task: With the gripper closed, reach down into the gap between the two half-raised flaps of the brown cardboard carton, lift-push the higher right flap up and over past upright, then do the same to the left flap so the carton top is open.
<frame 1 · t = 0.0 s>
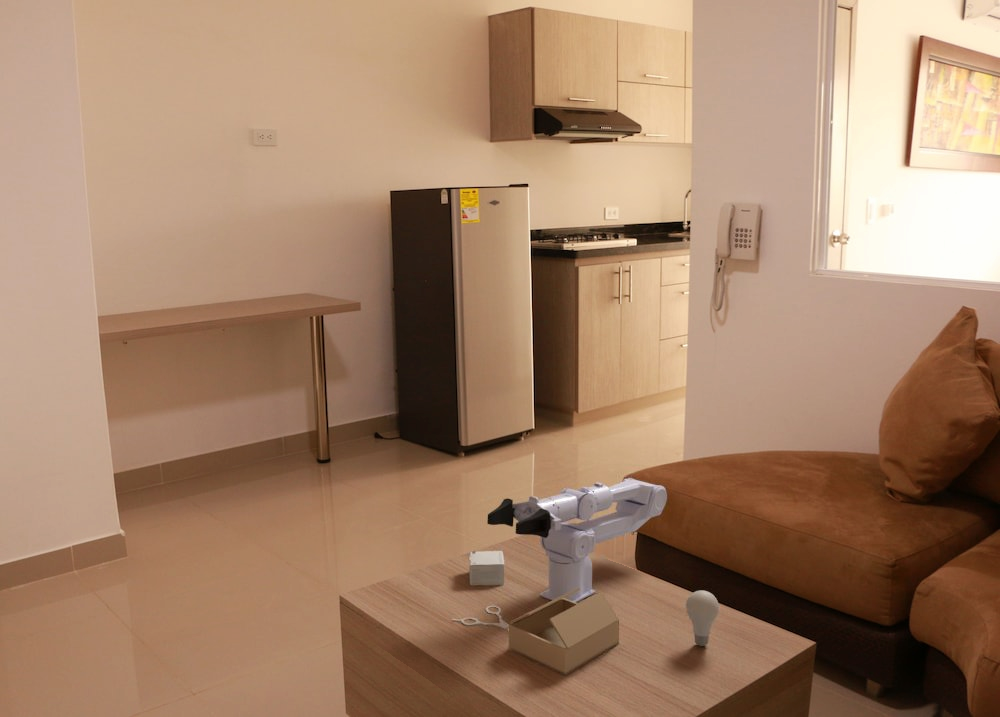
hand: (502, 524, 176), 22 cm above the table, tool horizontal, fingers open, 7 cm apart
small box: (486, 579, 203), on the table
lightbulb: (701, 646, 171), on the table
flap 1: (545, 605, 174), point 7 cm above the table, hinge at 35.0°
scissors: (504, 629, 180), on the table
carton: (564, 646, 172), on the table
flap 2: (584, 619, 167), point 7 cm above the table, hinge at 45.0°
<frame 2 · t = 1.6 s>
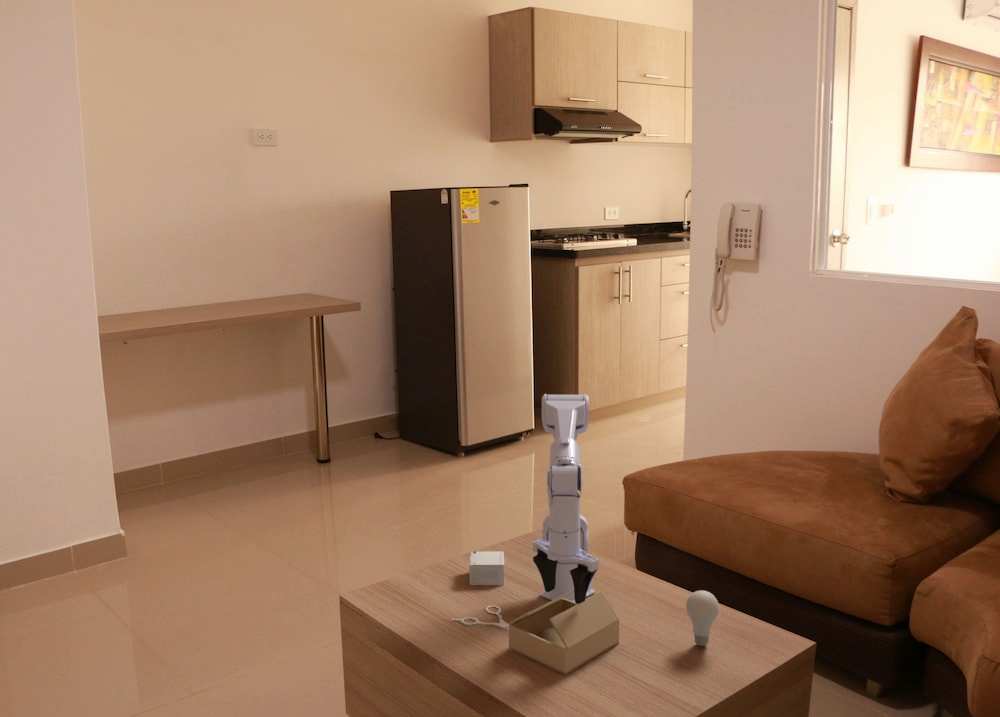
hand: (564, 596, 170), 10 cm above the table, tool pointing down, fingers open, 7 cm apart
nothing on the table moved.
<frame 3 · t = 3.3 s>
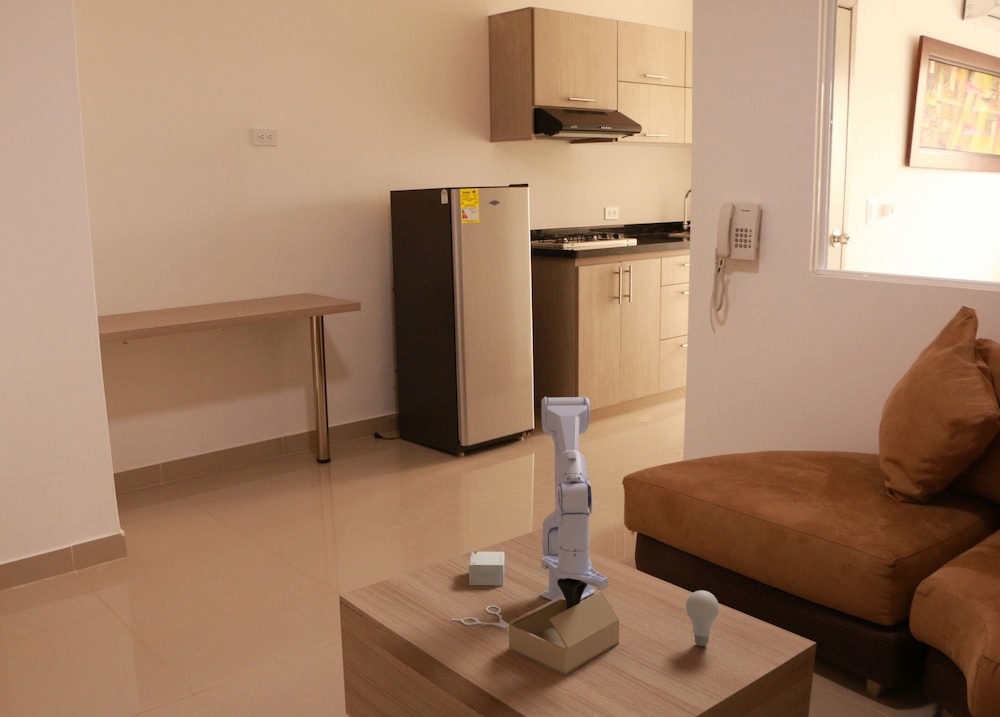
hand: (573, 613, 169), 8 cm above the table, tool pointing down, fingers closed, pressing on flap 2
flap 2: (585, 619, 167), point 7 cm above the table, hinge at 46.7°, touching gripper
everything else where it was.
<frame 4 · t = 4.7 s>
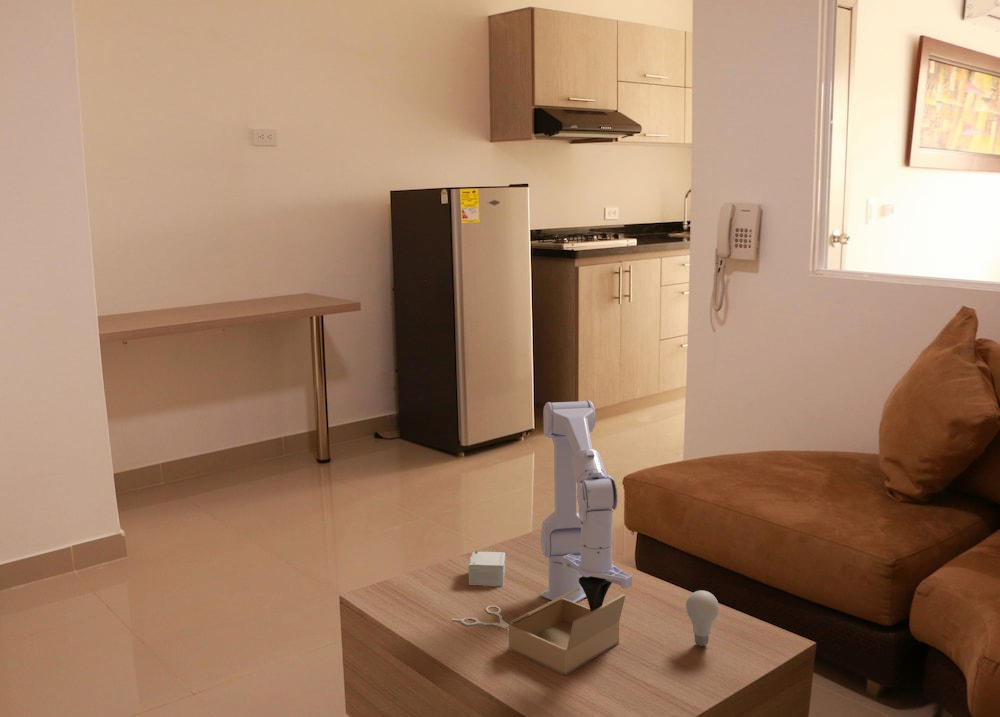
hand: (596, 613, 165), 9 cm above the table, tool pointing down, fingers closed, pressing on flap 2
flap 2: (597, 621, 165), point 8 cm above the table, hinge at 103.7°, touching gripper
everything else where it was.
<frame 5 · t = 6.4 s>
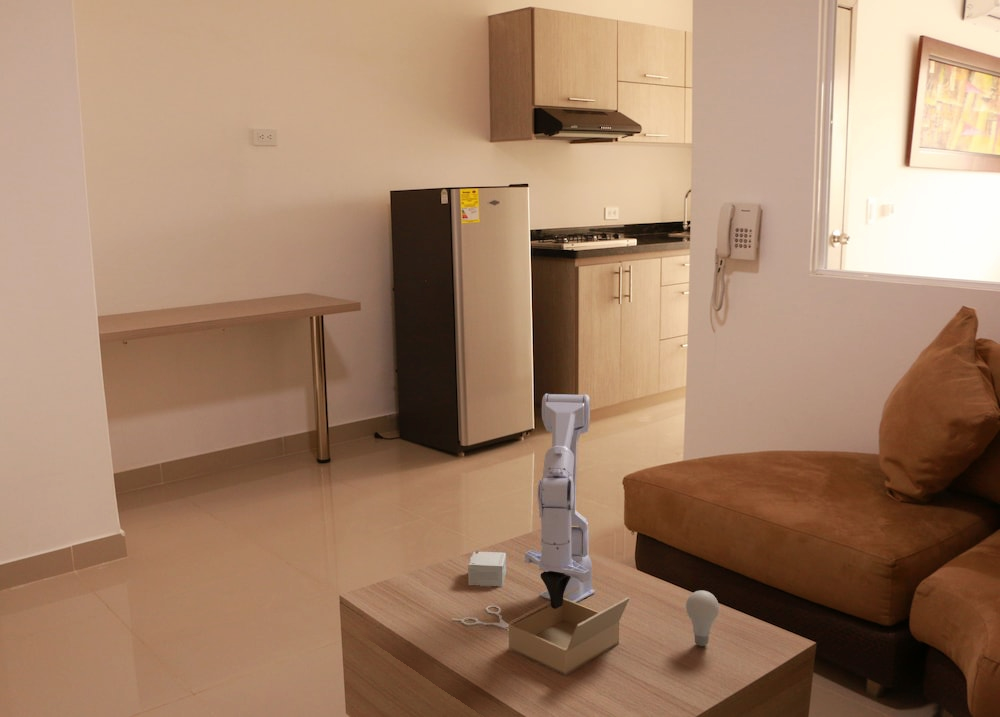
hand: (556, 606, 172), 8 cm above the table, tool pointing down, fingers closed, pressing on flap 1
flap 1: (545, 604, 174), point 7 cm above the table, hinge at 37.1°, touching gripper
flap 2: (598, 623, 165), point 8 cm above the table, hinge at 113.0°
everything else where it was.
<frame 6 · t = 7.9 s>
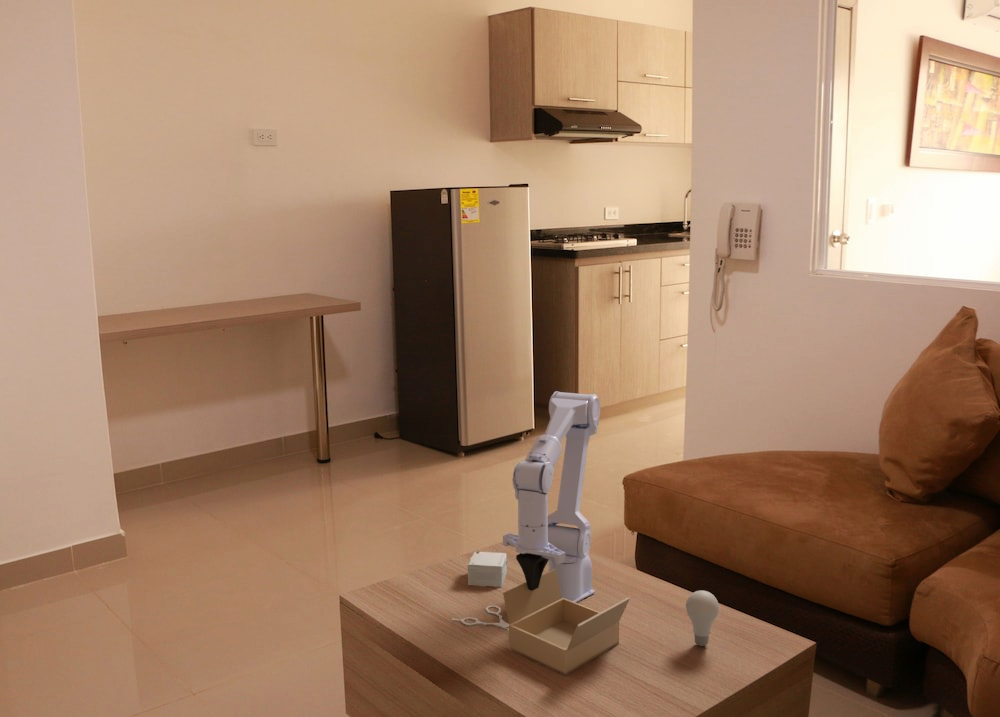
hand: (533, 588, 175), 10 cm above the table, tool pointing down, fingers closed, pressing on flap 1
flap 1: (533, 595, 176), point 8 cm above the table, hinge at 103.9°, touching gripper
flap 2: (599, 623, 165), point 8 cm above the table, hinge at 113.6°
everything else where it was.
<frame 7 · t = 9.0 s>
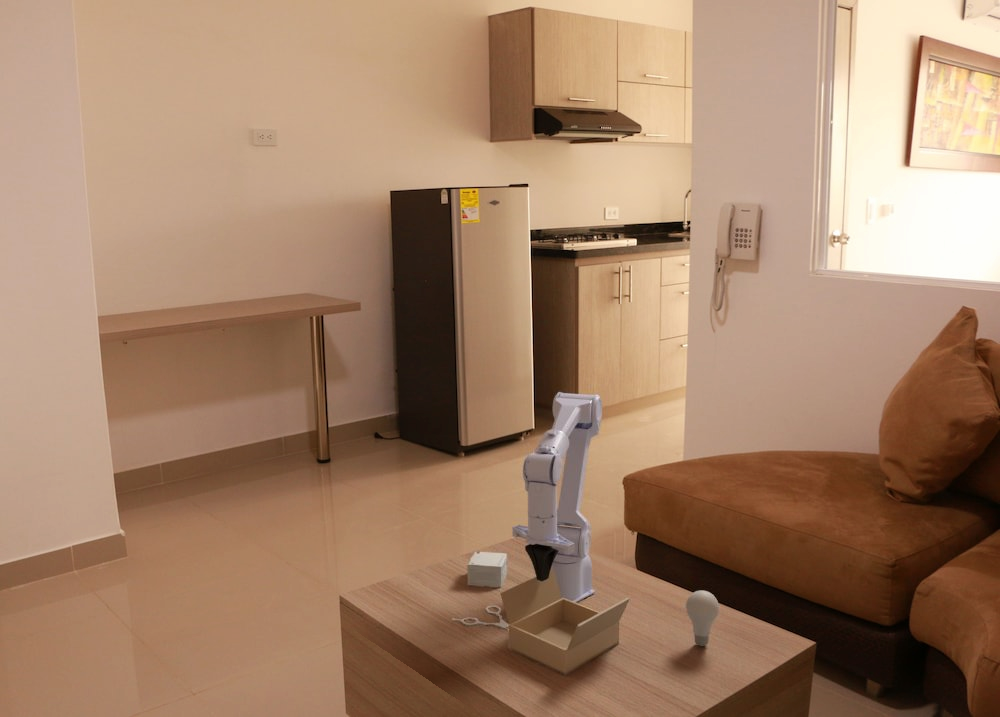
hand: (542, 579, 177), 10 cm above the table, tool pointing down, fingers closed
flap 1: (531, 595, 176), point 8 cm above the table, hinge at 111.3°
everything else where it was.
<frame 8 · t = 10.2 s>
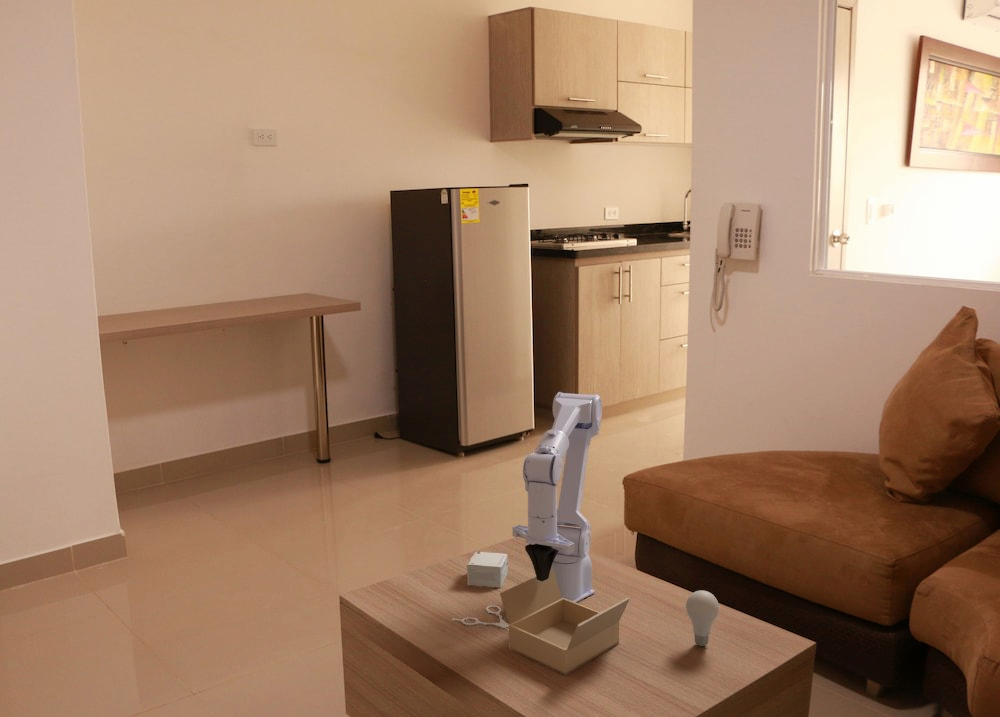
hand: (542, 579, 177), 10 cm above the table, tool pointing down, fingers closed
flap 1: (531, 595, 176), point 8 cm above the table, hinge at 112.7°
everything else where it was.
at the end: flap 2 at +114° (first picture: +45°); flap 1 at +113° (first picture: +35°) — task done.
